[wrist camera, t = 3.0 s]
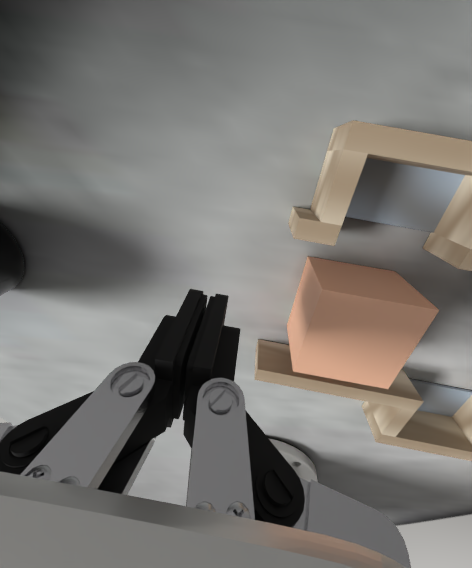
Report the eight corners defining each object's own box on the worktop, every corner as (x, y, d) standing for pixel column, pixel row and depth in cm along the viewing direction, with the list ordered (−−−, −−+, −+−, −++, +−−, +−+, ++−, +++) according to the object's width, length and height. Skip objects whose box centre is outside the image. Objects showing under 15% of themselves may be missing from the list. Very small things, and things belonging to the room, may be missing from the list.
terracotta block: (360, 337, 18) (388, 389, 14) (286, 324, 18) (292, 371, 14) (394, 270, 15) (439, 310, 11) (307, 255, 16) (322, 289, 12)
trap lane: (490, 431, 21) (523, 471, 18) (246, 383, 21) (244, 415, 18) (743, 200, 12) (881, 212, 9) (314, 125, 12) (327, 115, 10)
